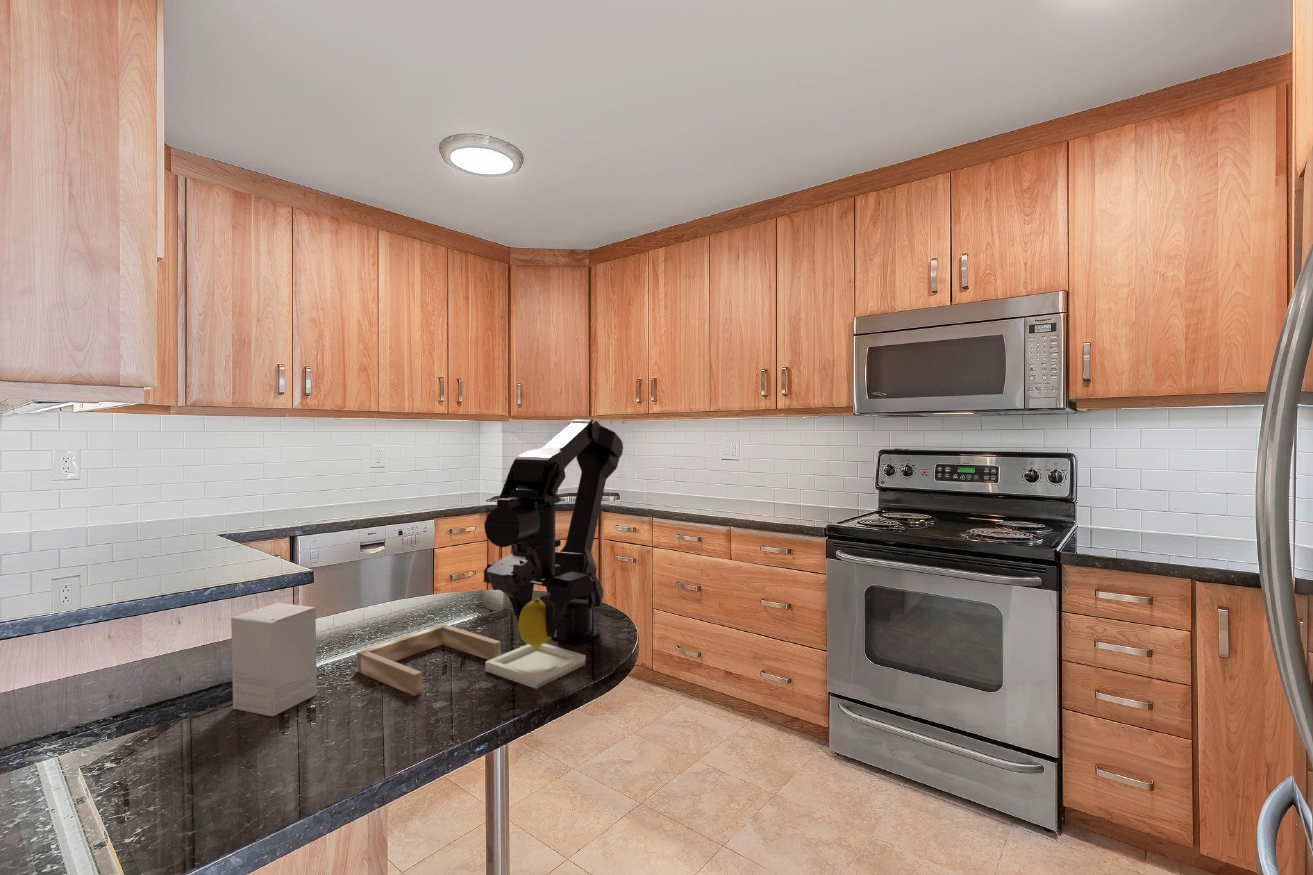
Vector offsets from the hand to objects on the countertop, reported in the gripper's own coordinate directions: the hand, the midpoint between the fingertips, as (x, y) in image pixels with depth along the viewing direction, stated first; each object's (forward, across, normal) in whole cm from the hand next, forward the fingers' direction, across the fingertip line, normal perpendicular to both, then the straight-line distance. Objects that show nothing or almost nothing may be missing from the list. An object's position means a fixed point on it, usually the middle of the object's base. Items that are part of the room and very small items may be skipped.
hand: (536, 632), depth 98 cm
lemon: (+3, 0, 0) cm, 3 cm away
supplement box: (+6, -21, -29) cm, 36 cm away
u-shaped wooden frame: (+6, -14, -9) cm, 18 cm away
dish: (+6, 0, 0) cm, 6 cm away
